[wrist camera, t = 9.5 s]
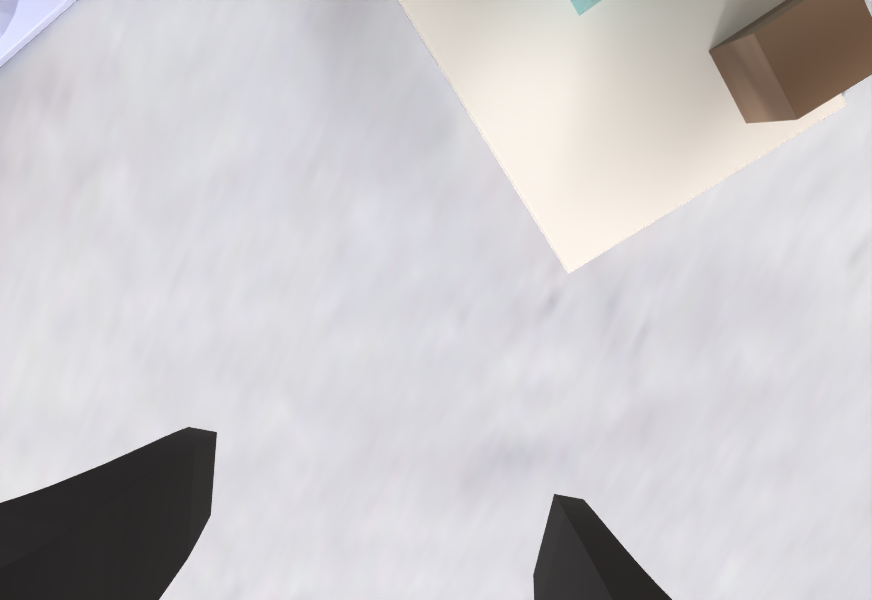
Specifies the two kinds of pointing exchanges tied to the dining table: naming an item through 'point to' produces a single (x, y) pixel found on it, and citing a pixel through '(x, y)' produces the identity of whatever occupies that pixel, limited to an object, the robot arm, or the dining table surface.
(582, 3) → the teal block
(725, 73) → the tan block
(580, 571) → the robot arm
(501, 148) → the board
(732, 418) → the dining table surface
